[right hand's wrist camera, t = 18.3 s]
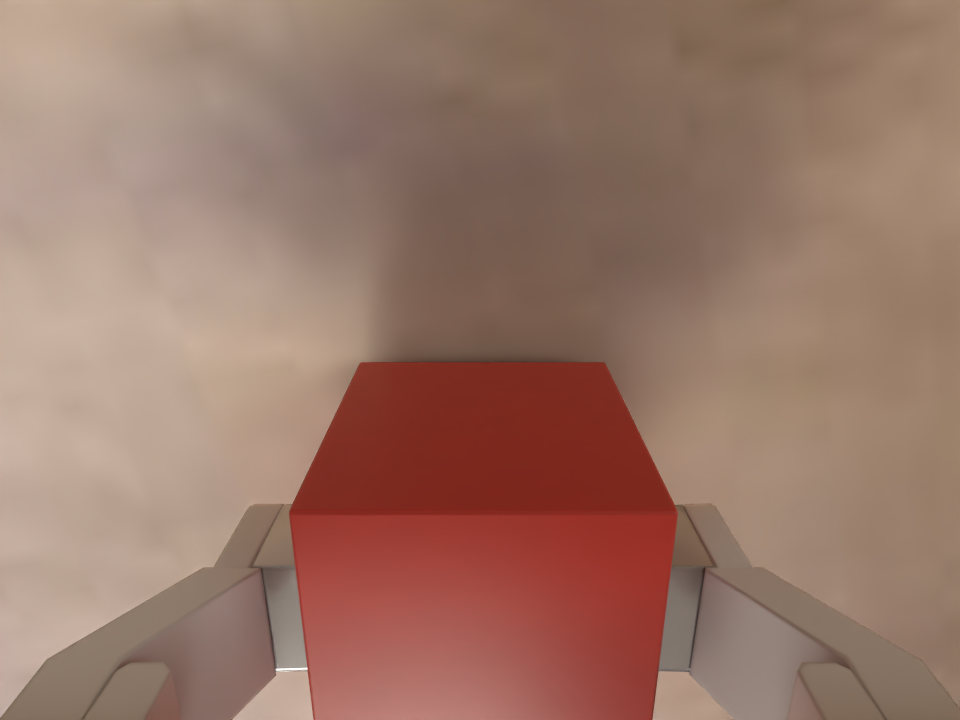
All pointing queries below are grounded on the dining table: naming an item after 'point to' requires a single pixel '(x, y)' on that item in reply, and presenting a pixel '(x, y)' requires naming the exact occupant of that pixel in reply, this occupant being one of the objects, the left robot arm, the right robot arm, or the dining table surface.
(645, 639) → the block
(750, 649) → the right robot arm
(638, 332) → the dining table surface
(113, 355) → the dining table surface
